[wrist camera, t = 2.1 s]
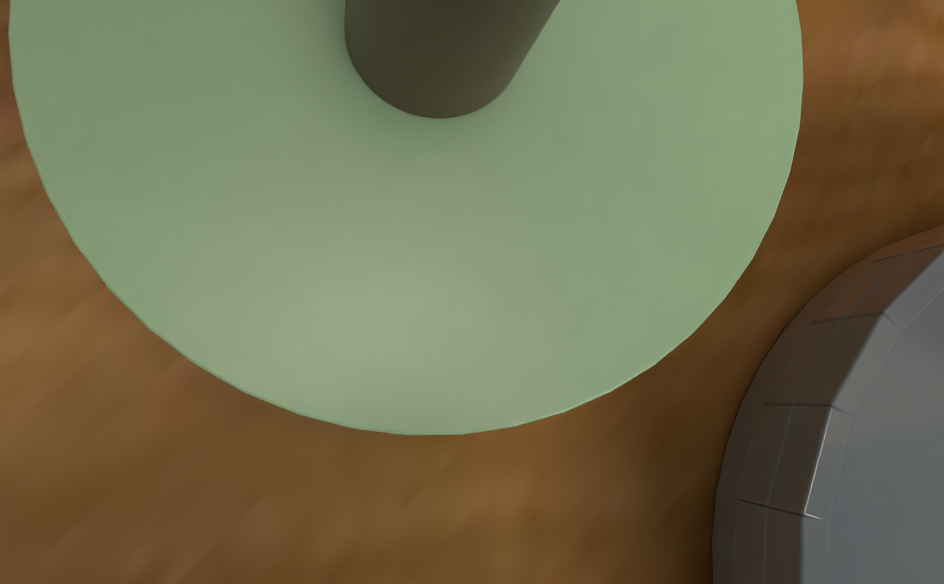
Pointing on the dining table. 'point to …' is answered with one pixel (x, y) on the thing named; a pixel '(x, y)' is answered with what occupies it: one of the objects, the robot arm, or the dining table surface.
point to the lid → (414, 186)
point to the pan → (844, 435)
